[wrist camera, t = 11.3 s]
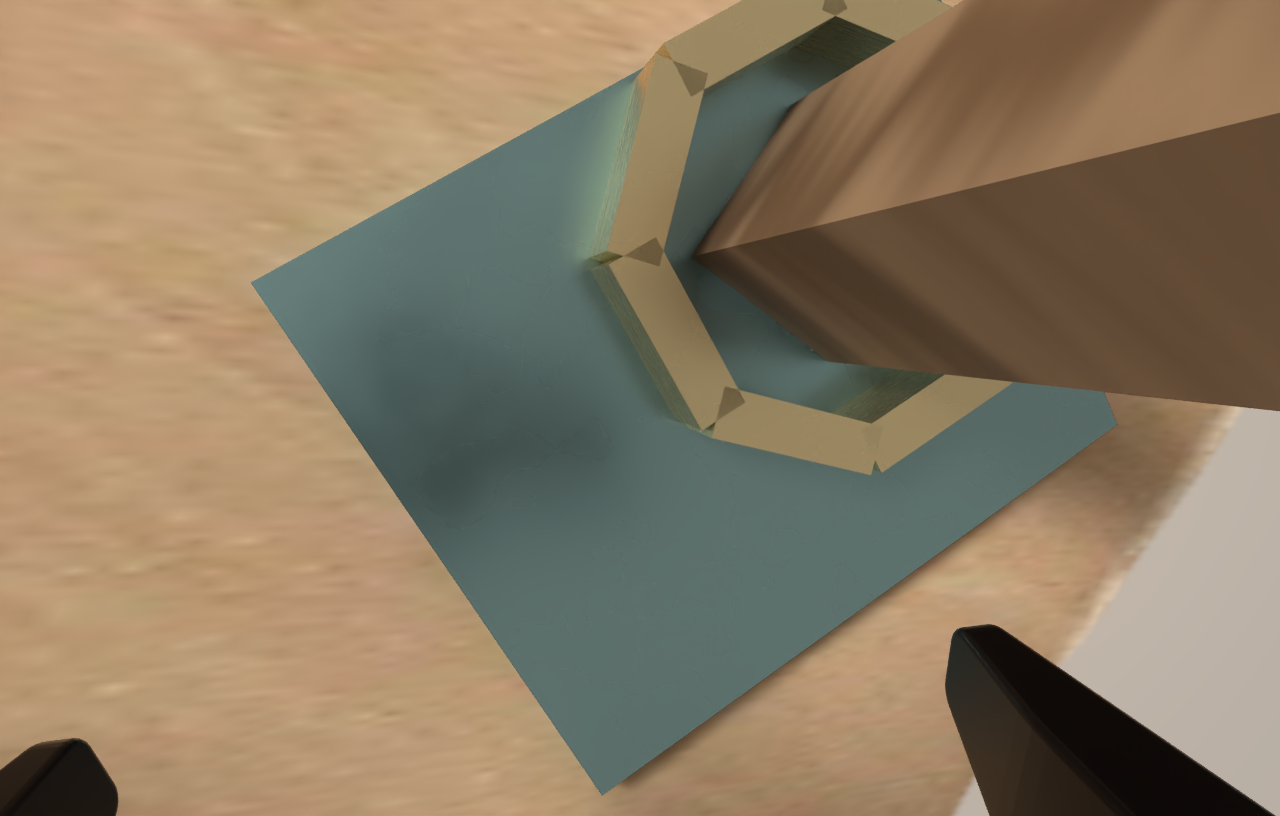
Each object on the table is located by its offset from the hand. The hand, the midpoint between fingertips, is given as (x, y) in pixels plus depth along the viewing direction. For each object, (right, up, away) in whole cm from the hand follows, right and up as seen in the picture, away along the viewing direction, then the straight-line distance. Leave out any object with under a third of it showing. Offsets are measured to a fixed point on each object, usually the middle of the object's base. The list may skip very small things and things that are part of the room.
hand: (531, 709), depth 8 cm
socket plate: (+4, +4, +12) cm, 14 cm away
